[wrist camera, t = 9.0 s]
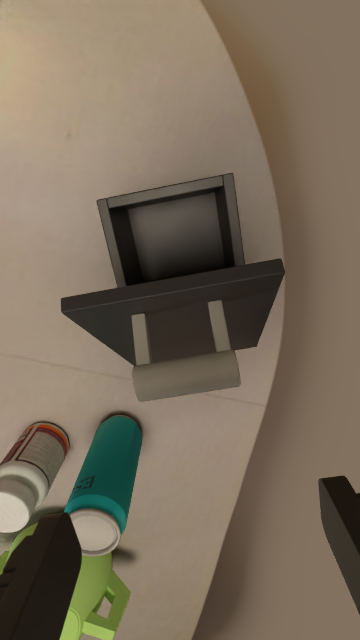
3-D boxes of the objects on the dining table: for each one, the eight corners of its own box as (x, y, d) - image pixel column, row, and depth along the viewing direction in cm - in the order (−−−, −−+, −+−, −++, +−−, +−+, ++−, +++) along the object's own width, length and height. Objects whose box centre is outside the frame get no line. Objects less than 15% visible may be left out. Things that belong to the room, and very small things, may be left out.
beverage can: (89, 427, 44) (43, 531, 30) (121, 401, 43) (89, 497, 29) (121, 456, 45) (91, 569, 31) (153, 431, 44) (137, 537, 30)
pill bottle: (29, 462, 46) (-19, 539, 35) (17, 422, 44) (-37, 491, 33) (74, 458, 46) (40, 535, 35) (65, 418, 44) (25, 486, 33)
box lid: (60, 297, 17) (63, 407, 15) (281, 257, 16) (311, 368, 14) (133, 357, 30) (139, 418, 28) (254, 337, 29) (268, 399, 28)
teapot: (-4, 563, 51) (-61, 670, 39) (1, 492, 47) (-62, 588, 35) (129, 584, 52) (112, 696, 40) (144, 517, 48) (130, 618, 36)
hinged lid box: (119, 203, 36) (96, 200, 26) (220, 182, 35) (233, 172, 26) (147, 325, 40) (135, 360, 30) (238, 309, 39) (254, 340, 30)
